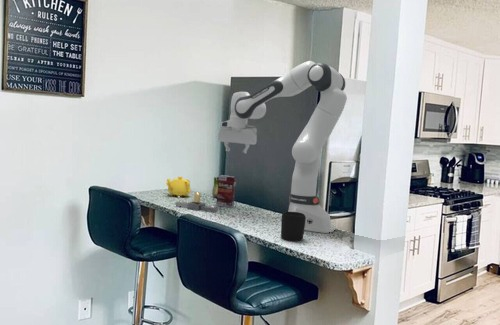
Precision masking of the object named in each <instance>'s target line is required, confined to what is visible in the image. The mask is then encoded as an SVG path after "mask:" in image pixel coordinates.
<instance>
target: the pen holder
mask: <svg viewBox="0 0 500 325" xmlns="http://www.w3.org/2000/svg"><path fill="white" fill-rule="evenodd" d="M305 220H306V217H305V215H304V214H303V213H299V212H288V211H284V212H282V213H281V224H280V226H281V227H280V229H281V230H280V237H281V239H282V240H284V241H288V242H302V241H303V240H304V236H305V234H304V233H305V230H304V228H305Z"/></svg>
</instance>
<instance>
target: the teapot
mask: <svg viewBox="0 0 500 325" xmlns="http://www.w3.org/2000/svg"><path fill="white" fill-rule="evenodd" d="M165 183H166V185H167V187H168V188H167V191H168V193H169V194H170V195H174V196H176V197H177V196H181V197H182V196H183V195H184V196H188V195H189V194H190V193H191V184H190V183H191V182H190V180H189V179H185V178H183V176H177V178H173V179H172V180H171V178H167V179H166V182H165ZM184 196H183V197H184Z"/></svg>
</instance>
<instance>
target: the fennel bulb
mask: <svg viewBox="0 0 500 325" xmlns="http://www.w3.org/2000/svg"><path fill="white" fill-rule="evenodd" d="M218 179H219V176H217V177H216V176H214V177H213V185H212V186H213V187H212V196H213V197H214V198H216V197H217V191H218Z"/></svg>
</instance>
